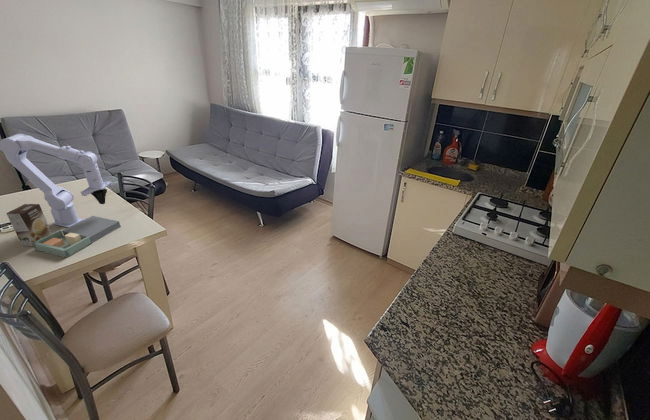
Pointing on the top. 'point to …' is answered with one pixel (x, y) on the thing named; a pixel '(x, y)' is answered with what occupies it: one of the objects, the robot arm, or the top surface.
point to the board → (93, 228)
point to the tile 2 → (72, 238)
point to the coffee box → (29, 223)
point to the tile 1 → (55, 242)
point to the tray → (63, 250)
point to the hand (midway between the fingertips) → (102, 203)
